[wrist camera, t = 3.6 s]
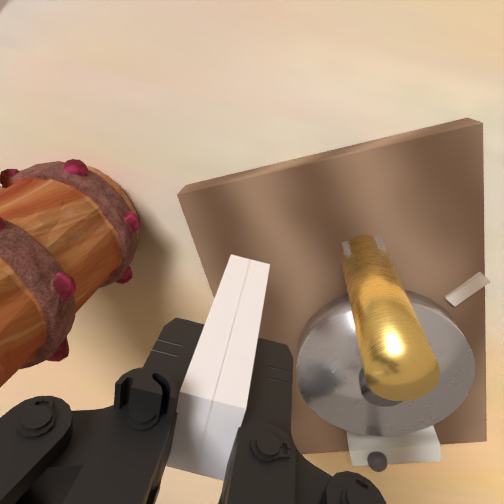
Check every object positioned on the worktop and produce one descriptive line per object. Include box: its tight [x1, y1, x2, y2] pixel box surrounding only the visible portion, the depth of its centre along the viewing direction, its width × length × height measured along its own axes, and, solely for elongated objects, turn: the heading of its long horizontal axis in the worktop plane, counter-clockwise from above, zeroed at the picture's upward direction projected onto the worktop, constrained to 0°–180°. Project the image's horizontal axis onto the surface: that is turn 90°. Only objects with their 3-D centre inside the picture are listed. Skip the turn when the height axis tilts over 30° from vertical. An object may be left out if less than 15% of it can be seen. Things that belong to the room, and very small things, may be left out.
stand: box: [177, 118, 490, 472], centre depth 26 cm, size 17×24×5 cm
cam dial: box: [296, 235, 476, 436], centre depth 20 cm, size 16×11×11 cm
